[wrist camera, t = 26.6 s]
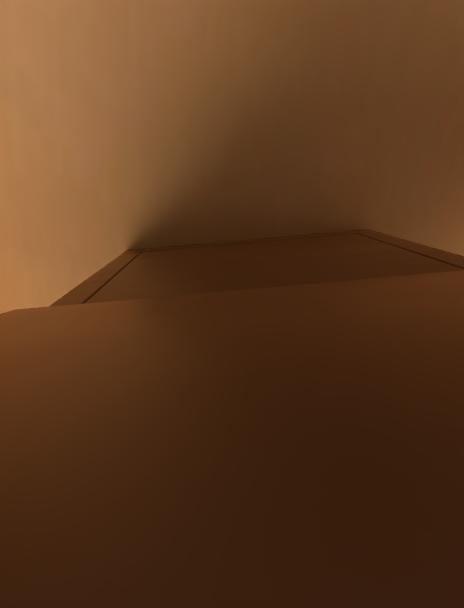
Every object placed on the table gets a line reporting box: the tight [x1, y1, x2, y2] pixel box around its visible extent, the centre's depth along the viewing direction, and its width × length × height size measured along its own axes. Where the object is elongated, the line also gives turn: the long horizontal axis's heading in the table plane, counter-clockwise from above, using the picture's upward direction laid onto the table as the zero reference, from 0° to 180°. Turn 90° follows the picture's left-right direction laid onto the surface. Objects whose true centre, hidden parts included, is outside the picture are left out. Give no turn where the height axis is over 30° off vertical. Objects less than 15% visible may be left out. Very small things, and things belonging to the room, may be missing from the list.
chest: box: [49, 230, 464, 307], centre depth 15 cm, size 13×12×10 cm
